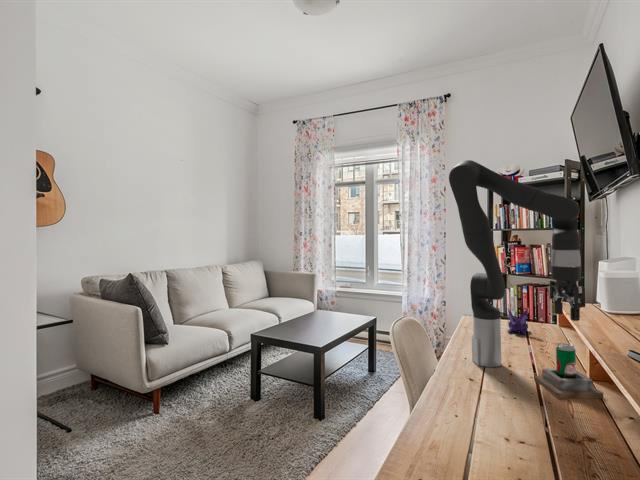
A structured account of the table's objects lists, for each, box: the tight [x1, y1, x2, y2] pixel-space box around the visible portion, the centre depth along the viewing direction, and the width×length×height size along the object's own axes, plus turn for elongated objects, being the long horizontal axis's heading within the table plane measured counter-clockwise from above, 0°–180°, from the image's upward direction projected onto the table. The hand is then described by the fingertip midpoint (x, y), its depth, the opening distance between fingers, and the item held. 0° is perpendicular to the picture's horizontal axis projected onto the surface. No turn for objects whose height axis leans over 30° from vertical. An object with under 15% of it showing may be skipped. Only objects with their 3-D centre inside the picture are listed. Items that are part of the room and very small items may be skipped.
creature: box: [507, 307, 529, 336], centre depth 178 cm, size 9×18×12 cm, turn 146°
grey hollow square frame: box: [533, 368, 604, 399], centre depth 115 cm, size 13×13×4 cm
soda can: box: [555, 342, 577, 379], centre depth 115 cm, size 5×5×12 cm
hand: (566, 317), depth 115 cm, fingers open, 8 cm apart
